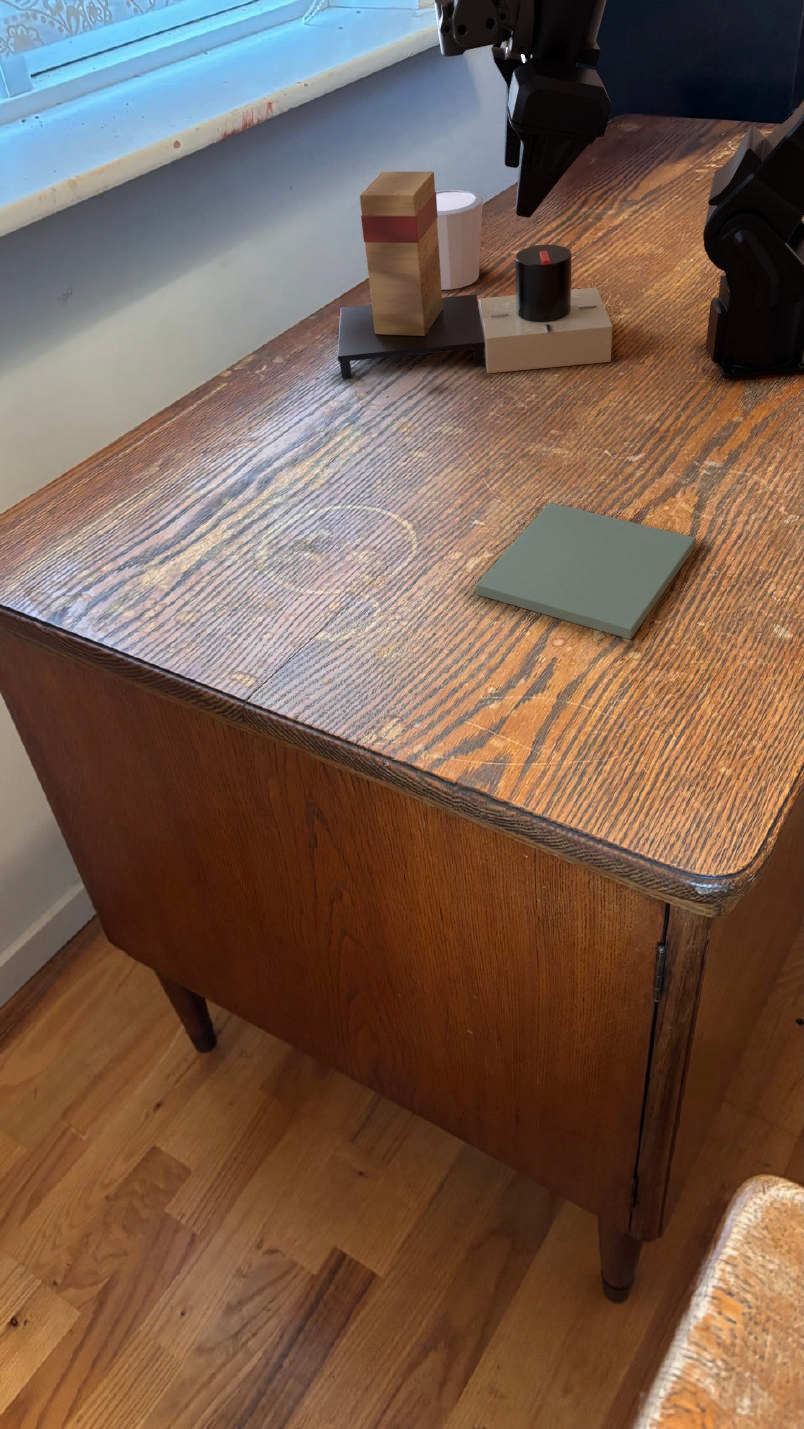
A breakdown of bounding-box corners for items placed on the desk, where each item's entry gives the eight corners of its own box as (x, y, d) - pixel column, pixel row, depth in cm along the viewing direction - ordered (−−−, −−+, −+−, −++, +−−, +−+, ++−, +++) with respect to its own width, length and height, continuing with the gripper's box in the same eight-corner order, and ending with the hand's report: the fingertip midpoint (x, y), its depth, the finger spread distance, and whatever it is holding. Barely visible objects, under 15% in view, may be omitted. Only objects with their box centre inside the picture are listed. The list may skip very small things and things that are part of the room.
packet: (443, 308, 90) (434, 171, 83) (425, 337, 87) (414, 195, 79) (394, 307, 92) (381, 171, 84) (374, 335, 88) (358, 195, 80)
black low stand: (477, 316, 93) (476, 294, 92) (485, 365, 86) (484, 342, 85) (343, 329, 94) (340, 307, 93) (340, 379, 87) (337, 356, 85)
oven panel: (595, 320, 91) (596, 283, 88) (611, 363, 84) (613, 325, 82) (479, 331, 91) (478, 295, 89) (487, 375, 85) (486, 337, 83)
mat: (549, 512, 70) (549, 501, 69) (695, 547, 65) (696, 537, 65) (476, 595, 64) (475, 584, 63) (630, 640, 59) (631, 629, 59)
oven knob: (513, 302, 87) (512, 243, 84) (566, 297, 87) (567, 238, 84) (518, 324, 84) (518, 263, 81) (574, 319, 84) (575, 258, 81)
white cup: (403, 290, 99) (396, 212, 95) (429, 262, 104) (423, 187, 99) (471, 294, 97) (467, 215, 92) (495, 266, 102) (492, 189, 97)
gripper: (446, -115, 73) (407, 126, 84) (463, -48, 60) (415, 226, 71) (600, -83, 74) (542, 150, 86) (648, -10, 62) (572, 252, 73)
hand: (516, 190), depth 79 cm, fingers open, 9 cm apart
